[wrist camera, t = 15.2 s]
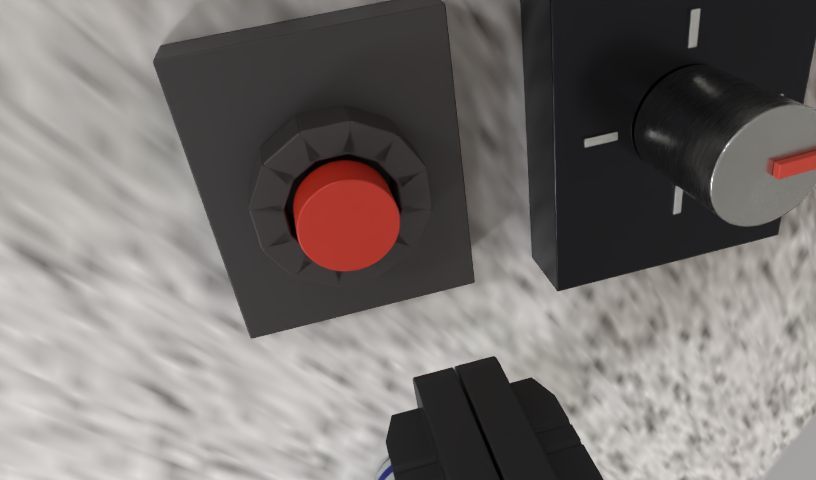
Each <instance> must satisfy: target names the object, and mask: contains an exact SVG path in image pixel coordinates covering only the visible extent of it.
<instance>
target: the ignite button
mask: <svg viewBox="0 0 816 480" xmlns="http://www.w3.org/2000/svg"><path fill="white" fill-rule="evenodd" d="M293 212H294V219H295V226H296V233H297V238H298V241H299V244H300V246H301V248H302V250H303V251H304V252H305V254H306V255H307V256H308V257H309V258H310V259H311V260H313V261H314V262H315V263H317V264H318V265H320V266H322V267H325V268H327V269H331V270H335V271H354V270H359V269H363V268H366V267H368V266H370V265H372V264H374V263H376V262H377V261H379V260H380V259H382V258H383V257H384V256H385V255H386V254H387V253H388V252H389V251H390V249H391V248H392V247H393V245H394V243H395V241H396V239H397V237H398V234H399V230H400V213H399V209H398V207H397V204H396V202H395V200H394V198H393V196H392V193H391V191H390V189H389V187H388V185H387V183H386V181H385V180H384V178H383V177H382V176H381V175H380V174H379V173H378V172H377V171H376V170H375V169H373V168H372V167H370V166H368V165H366V164H363V163H361V162H357V161H350V160H339V161H333V162H330V163H326V164H324V165H322V166H320V167H318V168H316V169H314V170H313V171H312V172H311V173H309V174H308V175H307V176H306V177H305V178H304V180H303V181H302V182H301V184H300V185H299V187H298V189H297V191H296V194H295V197H294V203H293Z"/></svg>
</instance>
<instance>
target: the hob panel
mask: <svg viewBox="0 0 816 480" xmlns="http://www.w3.org/2000/svg"><path fill="white" fill-rule="evenodd" d="M520 3H521V25H522V46H523V68H524V90H525V111H526V133H527V155H528V176H529V198H530V220H531V241H532V258H533V259H534V260H535V262H536V263H537V264H538V266H539V267H540V269H541V270H542V271H543V273H544V274H545V275H546V277H547V278H548V279H549V281H550V282H551V283H552V285H553V286H554V287H555V289H556V290H557V291H561V290H565V289H569V288H573V287H577V286H580V285H584V284H588V283H592V282H596V281H600V280H604V279H608V278H612V277H616V276H619V275H623V274H627V273H631V272H635V271H639V270H643V269H647V268H651V267H654V266H658V265H662V264H666V263H670V262H674V261H678V260H682V259H686V258H690V257H693V256H697V255H701V254H705V253H709V252H713V251H717V250H721V249H725V248H728V247H732V246H736V245H740V244H744V243H748V242H752V241H756V240H760V239H764V238H767V237H771V236H775V235H778V233H779V227H780V222H781V217H782V216H781V217H779V218H777V219H775V220H773V221H771V222H768V223H765V224H762V225H757V226H738V225H733V224H730V223H728V222H726V221H725V220H723V219H722V218H720V217H719V216H717V215H716V214H715V213H713V212H712V211H711V210H709V209H708V208H707V207H705V206H704V205H702V204H701V203H700V202H698V201H697V200H696V199H694V198H693V197H691V196H690V195H689V194H687V193H686V192H685V191H683V190H682V189H681V188H679V187H678V186H676V185H675V184H674V183H672V182H671V181H670V180H668V179H667V178H665V177H664V176H663V175H661V174H660V173H659V172H657V171H656V170H655V169H653V168H652V167H650V166H649V165H648V164H647V163H645V162H644V161H643V159H642V158H641V157H640V155H639V153H638V151H637V148H636V145H635V140H634V127H635V122H636V118H637V115H638V112H639V110H640V107H641V105H642V103H643V102H644V100H645V98H646V97H647V96H648V94H649V93H650V92H651V90H652V89H653V88H654V87H655V86H656V85H657V84H658V83H659V82H660V81H661V80H663V79H664V78H665V77H667V76H668V75H670V74H671V73H673V72H675V71H677V70H679V69H682V68H685V67H688V66H693V65H709V66H713V67H716V68H718V69H720V70H723V71H725V72H728V73H730V74H732V75H735V76H737V77H739V78H742V79H744V80H747V81H749V82H751V83H754V84H756V85H758V86H761V87H763V88H766V89H768V90H770V91H773V92H775V93H777V94H780V95H782V96H785V97H787V98H789V99H792V100H794V101H796V102H799V103H801V104H803V103H804V98H805V93H806V87H807V82H808V77H809V72H810V67H811V61H812V56H813V51H814V46H815V41H816V0H520Z"/></svg>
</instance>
